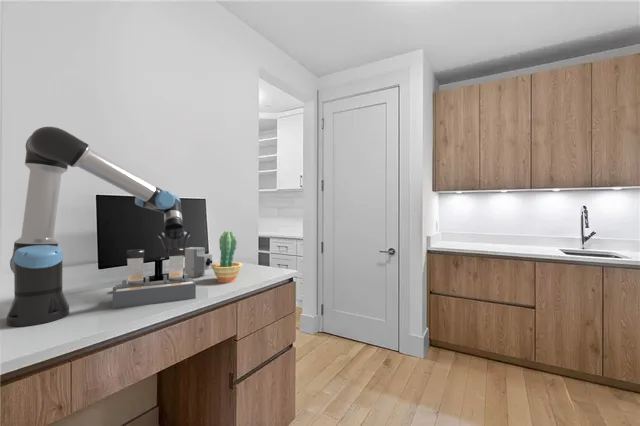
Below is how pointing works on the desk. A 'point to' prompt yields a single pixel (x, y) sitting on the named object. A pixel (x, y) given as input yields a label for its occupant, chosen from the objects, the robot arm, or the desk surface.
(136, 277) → the left lever
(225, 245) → the potted cactus
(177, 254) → the right lever
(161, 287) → the switch base
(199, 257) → the circuit breaker
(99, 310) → the desk surface
